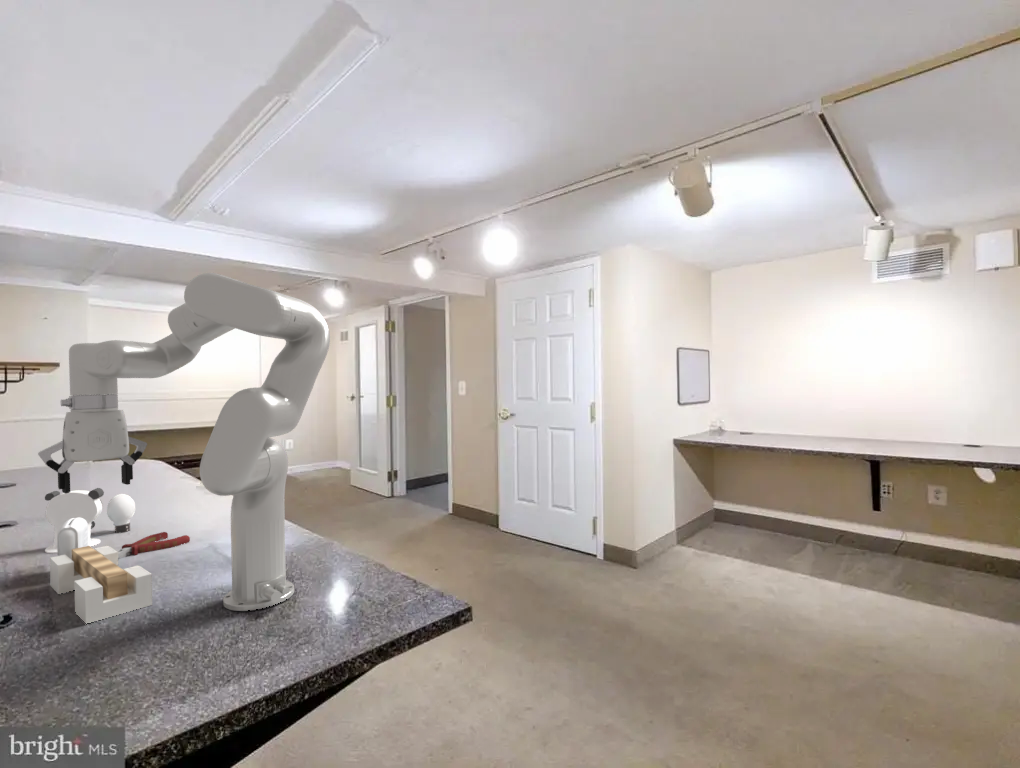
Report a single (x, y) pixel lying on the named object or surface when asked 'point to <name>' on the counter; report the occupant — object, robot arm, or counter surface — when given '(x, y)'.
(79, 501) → the panda figurine
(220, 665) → the counter surface
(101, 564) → the slat
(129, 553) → the pliers
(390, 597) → the counter surface
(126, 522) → the light bulb
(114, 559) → the end caps
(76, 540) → the photo printer
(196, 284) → the robot arm
